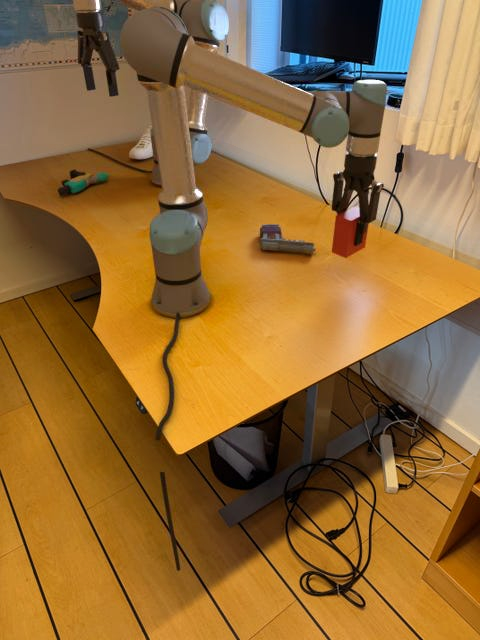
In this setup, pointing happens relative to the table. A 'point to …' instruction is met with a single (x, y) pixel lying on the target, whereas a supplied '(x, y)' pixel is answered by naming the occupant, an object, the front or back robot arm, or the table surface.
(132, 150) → the sneaker
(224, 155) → the table surface
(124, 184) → the table surface
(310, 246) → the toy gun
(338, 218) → the block
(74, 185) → the toy gun
